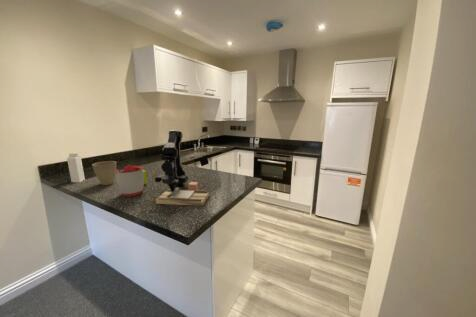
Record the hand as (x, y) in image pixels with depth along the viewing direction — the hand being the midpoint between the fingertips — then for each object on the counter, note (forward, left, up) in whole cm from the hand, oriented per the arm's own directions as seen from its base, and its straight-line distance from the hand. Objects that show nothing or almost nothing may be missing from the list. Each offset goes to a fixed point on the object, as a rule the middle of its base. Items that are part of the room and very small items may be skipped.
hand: (172, 192), depth 118 cm
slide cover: (0, +6, -2) cm, 6 cm away
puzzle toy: (-24, -38, -5) cm, 46 cm away
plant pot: (-22, -61, -5) cm, 65 cm away
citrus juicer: (-6, -31, -5) cm, 32 cm away
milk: (-25, -88, -5) cm, 92 cm away
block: (-13, +9, -5) cm, 16 cm away
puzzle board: (0, +7, -4) cm, 8 cm away
